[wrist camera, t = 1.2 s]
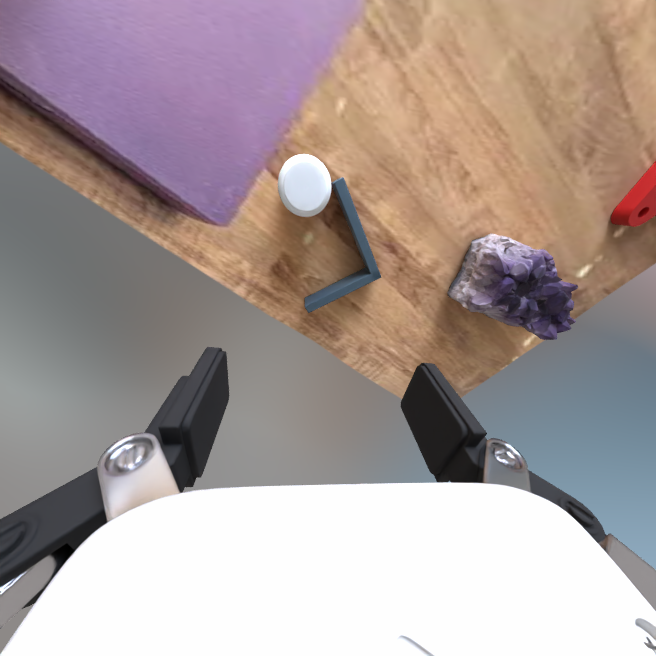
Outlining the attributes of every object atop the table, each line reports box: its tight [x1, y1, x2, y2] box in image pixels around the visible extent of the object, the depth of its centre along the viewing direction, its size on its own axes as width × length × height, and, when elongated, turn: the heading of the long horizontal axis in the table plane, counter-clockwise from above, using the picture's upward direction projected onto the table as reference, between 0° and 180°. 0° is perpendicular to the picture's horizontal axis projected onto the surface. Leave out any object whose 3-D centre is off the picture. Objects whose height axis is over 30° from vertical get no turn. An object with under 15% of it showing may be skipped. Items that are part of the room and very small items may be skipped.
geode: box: [448, 234, 578, 340], centre depth 35 cm, size 20×12×10 cm, turn 63°
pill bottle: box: [278, 154, 331, 217], centre depth 25 cm, size 5×5×10 cm
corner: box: [305, 177, 381, 313], centre depth 32 cm, size 13×12×3 cm
